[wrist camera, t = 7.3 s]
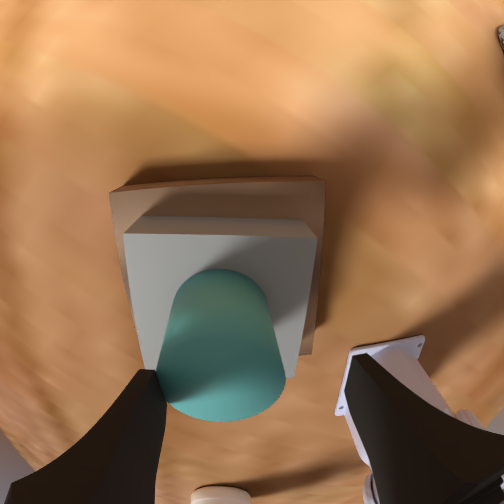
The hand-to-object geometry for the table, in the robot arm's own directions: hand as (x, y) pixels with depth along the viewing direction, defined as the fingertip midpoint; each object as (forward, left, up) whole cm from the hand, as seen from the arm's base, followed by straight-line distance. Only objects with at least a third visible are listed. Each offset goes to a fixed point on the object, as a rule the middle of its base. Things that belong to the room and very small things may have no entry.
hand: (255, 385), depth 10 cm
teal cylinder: (0, +1, -5) cm, 5 cm away
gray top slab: (0, +2, -8) cm, 8 cm away
